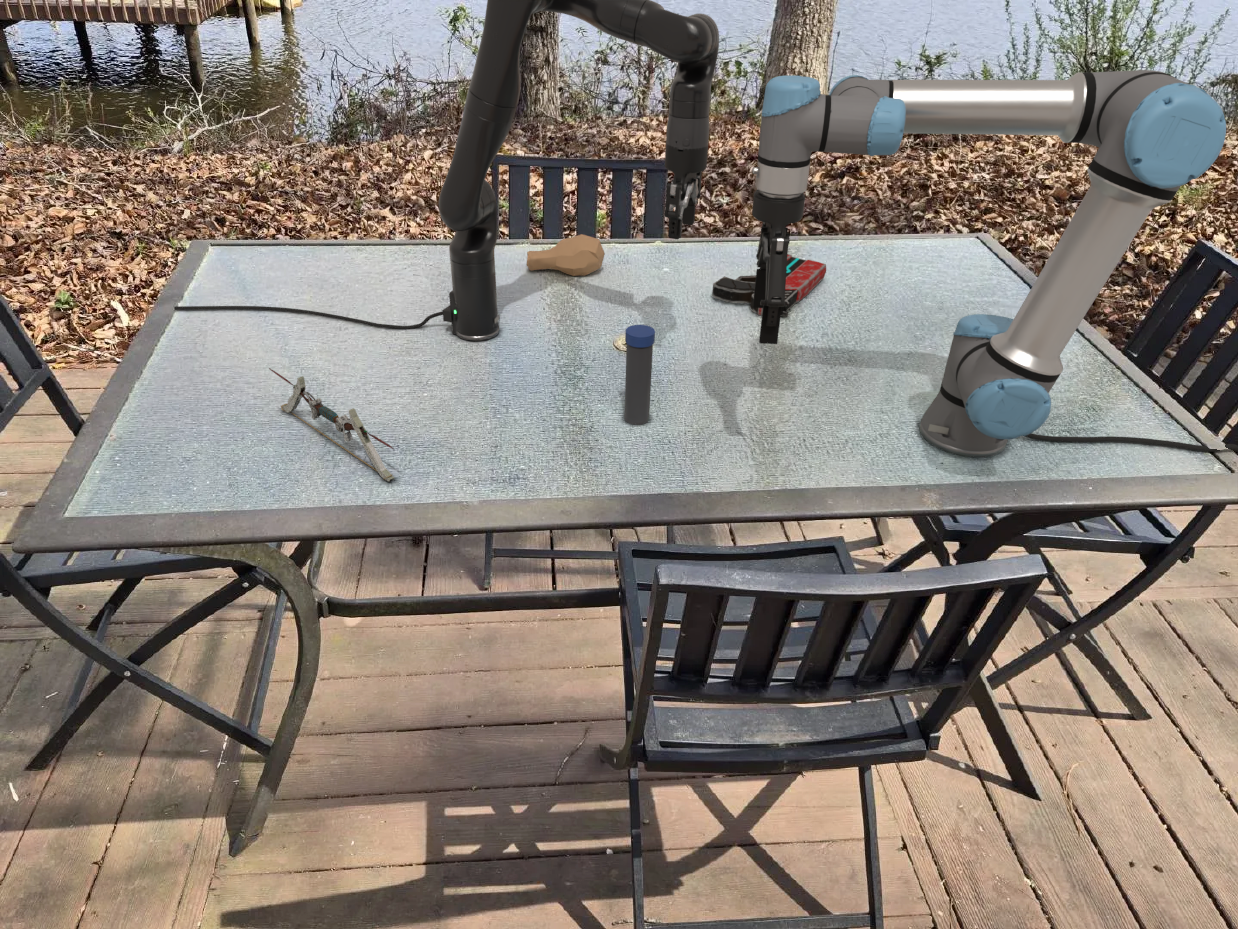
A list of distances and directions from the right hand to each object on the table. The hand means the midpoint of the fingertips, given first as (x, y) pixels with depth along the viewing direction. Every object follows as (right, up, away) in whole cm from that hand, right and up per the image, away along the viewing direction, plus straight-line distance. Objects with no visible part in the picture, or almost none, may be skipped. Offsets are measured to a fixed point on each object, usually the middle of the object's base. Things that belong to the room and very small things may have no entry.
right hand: (764, 324), depth 141 cm
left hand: (-12, +21, +23) cm, 34 cm away
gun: (+14, +20, +76) cm, 80 cm away
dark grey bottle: (-20, -14, +23) cm, 34 cm away
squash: (-37, +27, +83) cm, 95 cm away
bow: (-73, -19, +13) cm, 77 cm away
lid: (-20, +1, +13) cm, 24 cm away
